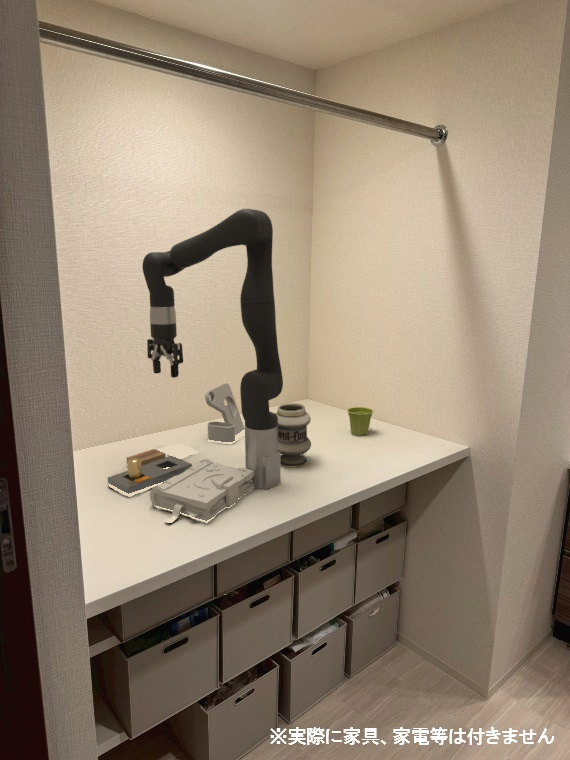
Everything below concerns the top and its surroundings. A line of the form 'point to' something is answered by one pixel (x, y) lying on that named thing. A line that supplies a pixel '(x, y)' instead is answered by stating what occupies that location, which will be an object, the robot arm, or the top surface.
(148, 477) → the grey peg board
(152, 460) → the block
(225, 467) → the book
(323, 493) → the top surface
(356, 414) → the plant pot
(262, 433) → the robot arm
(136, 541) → the top surface
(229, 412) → the phone holder
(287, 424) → the apothecary jar
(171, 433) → the top surface
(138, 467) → the brass peg
